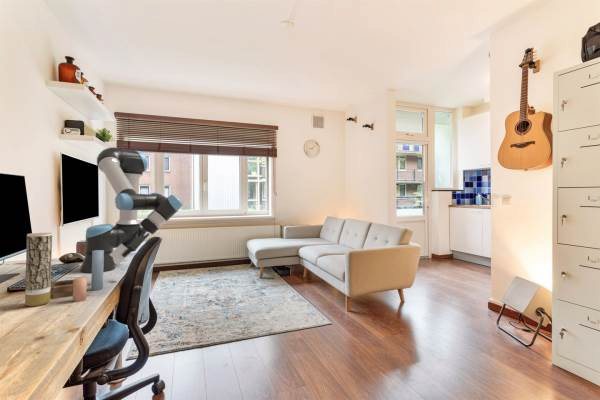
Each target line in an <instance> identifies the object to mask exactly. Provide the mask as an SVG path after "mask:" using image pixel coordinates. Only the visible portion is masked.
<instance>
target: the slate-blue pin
mask: <svg viewBox="0 0 600 400" xmlns="http://www.w3.org/2000/svg"><path fill="white" fill-rule="evenodd" d="M103 266H104V250H95V251H92V273H91V284H90V285H91V291H92V292H93V291H101V290H103V289H104V272H103Z"/></svg>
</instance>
